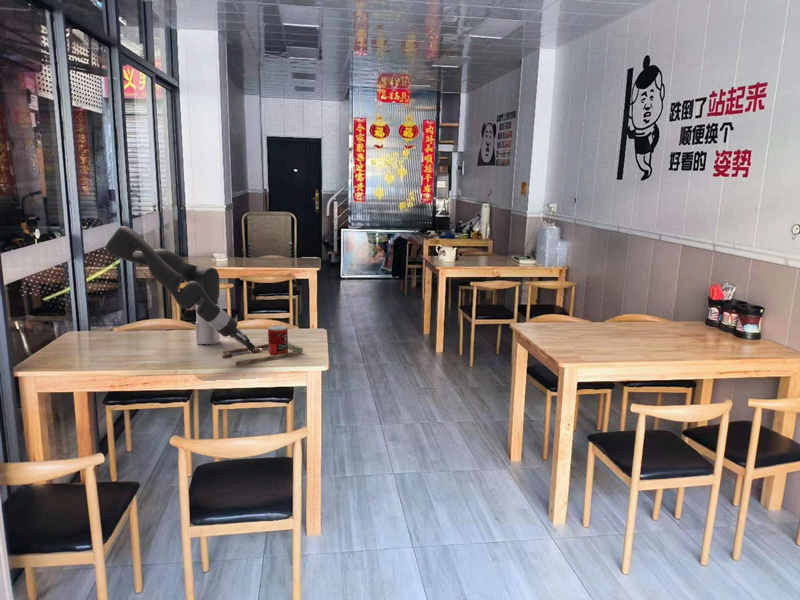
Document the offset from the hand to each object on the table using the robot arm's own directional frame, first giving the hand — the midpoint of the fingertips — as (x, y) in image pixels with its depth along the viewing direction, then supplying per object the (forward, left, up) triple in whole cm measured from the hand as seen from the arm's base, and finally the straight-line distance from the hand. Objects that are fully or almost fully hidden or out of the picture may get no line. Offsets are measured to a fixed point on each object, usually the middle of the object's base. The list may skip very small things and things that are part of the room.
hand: (253, 348), depth 239 cm
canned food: (+9, +5, -4) cm, 12 cm away
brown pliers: (+2, +4, -4) cm, 6 cm away
